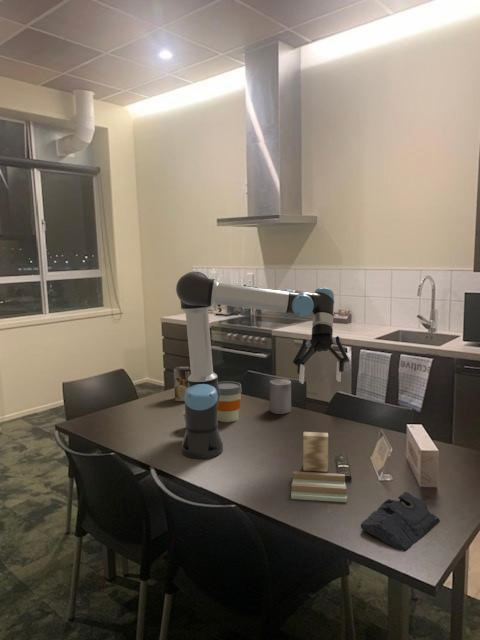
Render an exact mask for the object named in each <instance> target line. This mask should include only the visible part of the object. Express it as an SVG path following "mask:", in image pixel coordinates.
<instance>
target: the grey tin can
mask: <svg viewBox="0 0 480 640" xmlns="http://www.w3.org/2000/svg"><path fill="white" fill-rule="evenodd" d="M291 411H292V382H291V380H290V379H288V378H287V379H286V378H274V379H272V380H269V412H271V413H272V414H275V415H286V414H288V413H291Z"/></svg>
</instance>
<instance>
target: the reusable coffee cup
mask: <svg viewBox="0 0 480 640" xmlns="http://www.w3.org/2000/svg"><path fill="white" fill-rule="evenodd" d="M218 386H219V389H220V397H219V401H218V408H217V414H218V422H222V423H231V422H236V421H238V420H239V414H240V413H239V412H240V408H241V402H242V396H241V395H242V392H243V390H242V389H243V388H242V384H241V383H240V382H238V381H237V382H236V381H229V380H228V381H227V380H226V381H218Z"/></svg>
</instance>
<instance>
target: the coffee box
mask: <svg viewBox="0 0 480 640" xmlns="http://www.w3.org/2000/svg"><path fill="white" fill-rule="evenodd" d="M190 375H191V367H190V366H186V365H185V366H184V365H183V366H178V365H177V366H175V367H174V368H173V387H174V401H175V402H185V401H184V397H185V391H186V390H187V389H188V377H189V376H190Z"/></svg>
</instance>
